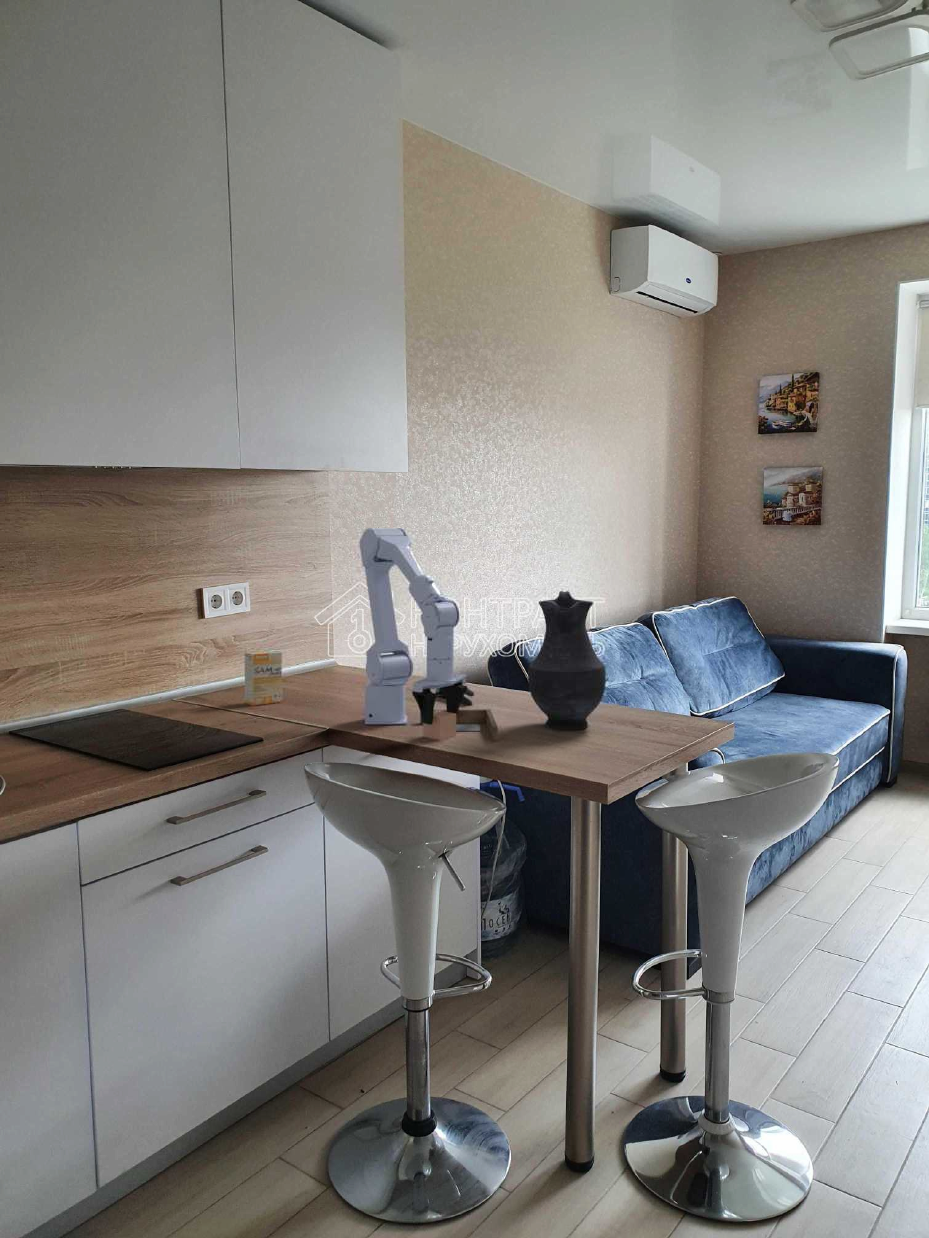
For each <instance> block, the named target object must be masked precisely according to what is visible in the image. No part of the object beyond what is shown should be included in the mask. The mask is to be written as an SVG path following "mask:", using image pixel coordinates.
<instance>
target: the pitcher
mask: <svg viewBox="0 0 929 1238" xmlns="http://www.w3.org/2000/svg"><path fill="white" fill-rule="evenodd" d="M593 604H594V601H591V600H584V599H583V600H582V599H575V598H574V597H572V595H571V592H570V591H569V590H567V591H563V590H561V591H559V592H558V596H557V597H556V598H555V599H548V600H547V599H546V600H540V601H538V605H539V607H540V609H541V610H542V613H543V617H544V620H545V621H544V622H545V633H544V637H543V642H542V645H541V647H540V650H539V652H538V653H537V655H536V657H535V659H533V661H532V662H531V663H529V665H528V670H527V671H528V672H527V679H528V680H527V681H528V688H529V689H528V690H529V691H530V696H531V698H532V699H533V701H534V703H535V704H536V706H537V707H538V708H539V709H540V710H541V712H543V714H544V715H545V716H546V717H547V720H545V723H544V726H545V727H546V728H548V729H552V730H558V731H579V730H583V729H587V728H588V727H589V722H588V720H587V718H588V717H589V716H590V715H592V713H593V712H594V711H595V709H597V707H598V706H600V703H601V701H602V700H603V697H604V694H605V690H606V680H607V679H606V678H607V677H606V676H607V673H606V665H605V664H604V663H603V662H602V661H601V660H600V658H599V657H598V655H597V654H596V651H595V650H594V647H593V645H592V642H591V639H590V636H589V634H588V630H587V626H586V621H587V617H588V614H589V611H590V609H591V607H592V606H593Z"/></svg>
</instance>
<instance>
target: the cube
mask: <svg viewBox="0 0 929 1238" xmlns="http://www.w3.org/2000/svg"><path fill="white" fill-rule="evenodd" d="M456 724H457V723H456V714H455V713H449V712H444V711H435V712H433V723H432V724H431V725H429V724H424V723H422V725H423V726H422V733H423V734H422V736H424V737H423V738H427V737H428V738H429V739H432V740H436V739H437V741H443V739H444V740H447V738H448V739H450V738H451V737H452V738H454V737H455V736H456V737H457V732H456ZM452 738H451V739H452Z"/></svg>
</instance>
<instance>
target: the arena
mask: <svg viewBox="0 0 929 1238" xmlns="http://www.w3.org/2000/svg"><path fill="white" fill-rule="evenodd" d="M435 711H444V712H447V708H445V709H434V712H435ZM419 712H420V711H419ZM419 718H420V719H419V720H420V721H419V722H420V724H423V720H422V716H421V712H420V715H419ZM481 724H486V726H487V729H488V732H489V736H490V737H491V740H492V742H498V741H499V740H498V739H499V734H498V733H499V727H498V724H497V723H496V720H495V717H494V715H493V713H492V710H491V709H489V708H488V709H487V708H485V709H484V708H480V709H479V708H475V709H473V708H472V709H471V708H470V709H469V708H467V709H465V708H464V709H461V708H459V710H458V714H457V718H456V733H460V732H461V733H462V732H482V728H481V726H480V725H481Z"/></svg>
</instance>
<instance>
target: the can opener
mask: <svg viewBox="0 0 929 1238" xmlns="http://www.w3.org/2000/svg"><path fill="white" fill-rule="evenodd" d="M435 693H437V694H438V695H437V696H438V697H441V698H446V697H445V693H444V690H443V687H441V688H436V689H435ZM465 695H466V696H468V697H474V696H475V692H474V691H472V690H471V689H469V687H467V691H466V693H465V694H464V696H463V698H462V701H461V703H460V704H463V705H465V706H472V705H473V702H472V700H470V699H469V698H467V697H466V696H465Z"/></svg>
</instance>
